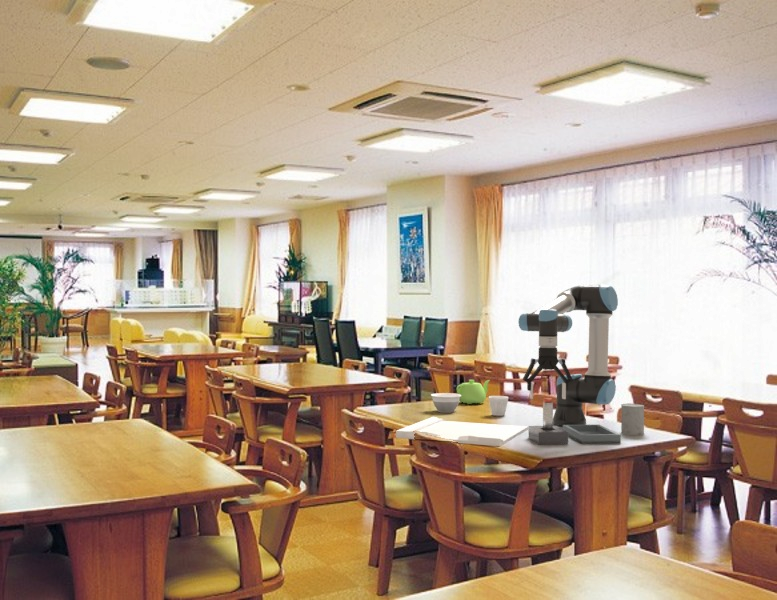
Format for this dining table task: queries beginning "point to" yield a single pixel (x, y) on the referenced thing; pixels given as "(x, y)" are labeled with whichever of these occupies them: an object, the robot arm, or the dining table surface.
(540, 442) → the block
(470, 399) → the teapot
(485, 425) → the white flat slab
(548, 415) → the lynch pin
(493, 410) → the cup
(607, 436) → the slate tray
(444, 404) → the bowl
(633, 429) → the grey cylinder
